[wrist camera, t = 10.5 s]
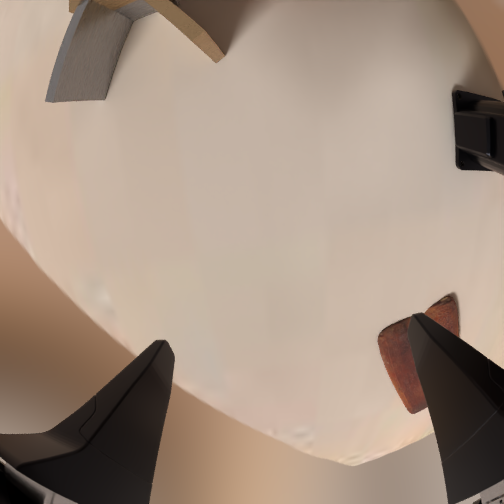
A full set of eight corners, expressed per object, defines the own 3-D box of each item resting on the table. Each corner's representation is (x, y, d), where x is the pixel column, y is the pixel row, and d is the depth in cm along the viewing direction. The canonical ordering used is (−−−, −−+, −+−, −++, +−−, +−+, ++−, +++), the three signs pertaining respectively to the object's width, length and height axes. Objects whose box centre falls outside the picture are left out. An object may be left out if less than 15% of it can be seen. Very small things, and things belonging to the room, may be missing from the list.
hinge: (204, -49, 9) (184, -88, 4) (226, 61, 14) (206, 37, 9) (88, -2, 11) (45, -19, 5) (97, 103, 16) (45, 107, 11)
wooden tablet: (370, 330, 25) (374, 342, 24) (451, 286, 22) (458, 295, 21) (404, 415, 35) (406, 422, 34) (453, 390, 32) (456, 397, 30)
